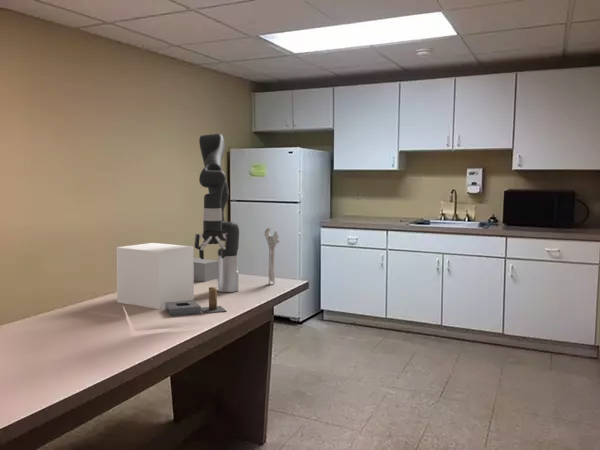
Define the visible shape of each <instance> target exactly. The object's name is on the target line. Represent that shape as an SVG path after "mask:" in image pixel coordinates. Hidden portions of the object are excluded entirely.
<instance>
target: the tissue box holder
mask: <svg viewBox="0 0 600 450" xmlns="http://www.w3.org/2000/svg"><path fill="white" fill-rule="evenodd" d="M213 280H218V260H215V259H214V260H213V259H205V258H204V259H201V258H199V257H198V258H197V257H194V281H195V282H196V281H197V282H204V283H206V282H210V281H213Z"/></svg>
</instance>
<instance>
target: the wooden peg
mask: <svg viewBox="0 0 600 450" xmlns="http://www.w3.org/2000/svg"><path fill="white" fill-rule="evenodd" d="M217 291H218V286H217V287H216V286H211V287H208V307H209V310H216V309H217V306H218V304H217V303H218V302H217V301H218V296H217V295H218V292H217Z"/></svg>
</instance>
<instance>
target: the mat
mask: <svg viewBox="0 0 600 450" xmlns="http://www.w3.org/2000/svg"><path fill="white" fill-rule="evenodd" d="M226 312H227V310H226V309H225V308H224V307H223V306H221V305H217V309H216V310H209V306H203V307H202V306H201V313H203V314H204V315H206V314H217V313H226Z"/></svg>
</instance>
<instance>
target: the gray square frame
mask: <svg viewBox="0 0 600 450" xmlns="http://www.w3.org/2000/svg"><path fill="white" fill-rule="evenodd" d="M201 308H202V306H201V305H200V303H198V302H197V301H196V300H195V299H193V300H189V301H177V302H165V308H164V310H165V311H166V313H167V314H168V315H169V317H180V316H190V315H201V314H202V311H201Z"/></svg>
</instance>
